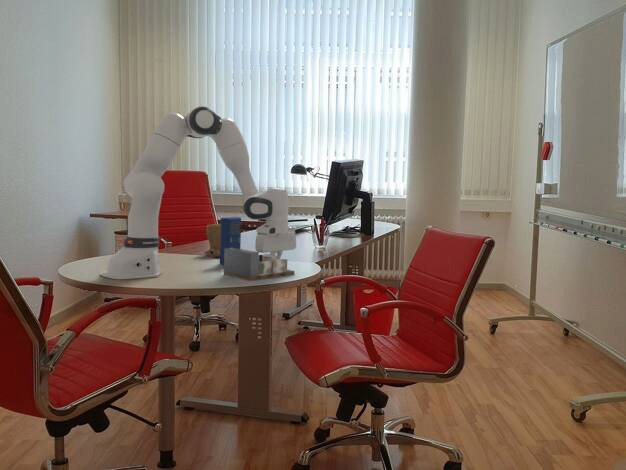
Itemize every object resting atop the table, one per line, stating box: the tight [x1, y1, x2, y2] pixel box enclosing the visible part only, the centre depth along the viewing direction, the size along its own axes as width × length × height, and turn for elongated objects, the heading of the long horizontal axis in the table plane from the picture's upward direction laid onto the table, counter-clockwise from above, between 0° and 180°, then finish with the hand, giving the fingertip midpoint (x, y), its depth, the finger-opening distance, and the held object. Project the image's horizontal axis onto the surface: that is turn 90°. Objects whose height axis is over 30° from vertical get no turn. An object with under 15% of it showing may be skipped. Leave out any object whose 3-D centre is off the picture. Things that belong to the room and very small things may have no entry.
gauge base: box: [223, 258, 295, 282], centre depth 255 cm, size 24×15×6 cm, turn 138°
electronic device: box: [219, 216, 242, 266], centre depth 280 cm, size 10×5×20 cm, turn 152°
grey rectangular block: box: [223, 248, 259, 277], centre depth 248 cm, size 4×15×9 cm, turn 48°
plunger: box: [259, 253, 277, 262], centre depth 256 cm, size 6×12×6 cm, turn 48°
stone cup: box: [204, 223, 221, 258], centre depth 303 cm, size 15×12×15 cm
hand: (275, 262), depth 263 cm, fingers closed
